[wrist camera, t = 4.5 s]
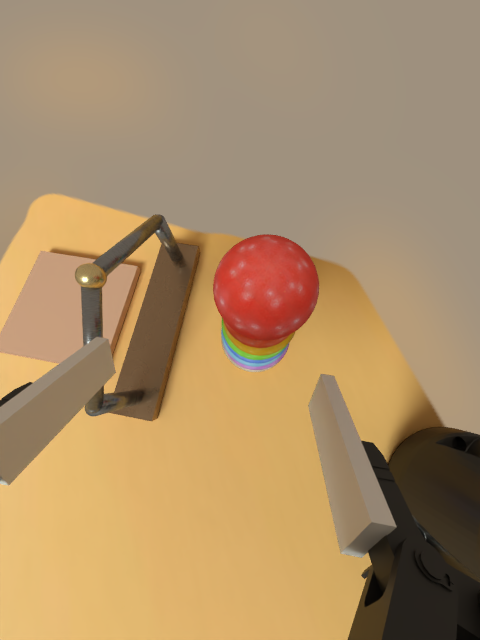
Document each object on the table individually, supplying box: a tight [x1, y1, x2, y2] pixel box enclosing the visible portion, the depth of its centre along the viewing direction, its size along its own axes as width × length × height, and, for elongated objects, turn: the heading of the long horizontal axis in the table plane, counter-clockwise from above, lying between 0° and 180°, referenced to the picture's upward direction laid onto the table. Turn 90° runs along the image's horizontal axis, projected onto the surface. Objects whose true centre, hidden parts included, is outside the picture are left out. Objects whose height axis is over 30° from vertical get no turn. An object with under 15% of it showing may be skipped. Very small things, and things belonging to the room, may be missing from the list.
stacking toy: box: [213, 235, 319, 372], centre depth 17 cm, size 8×8×19 cm
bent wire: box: [75, 215, 200, 421], centre depth 20 cm, size 22×5×14 cm, turn 170°
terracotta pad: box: [0, 251, 141, 364], centre depth 27 cm, size 14×14×1 cm
